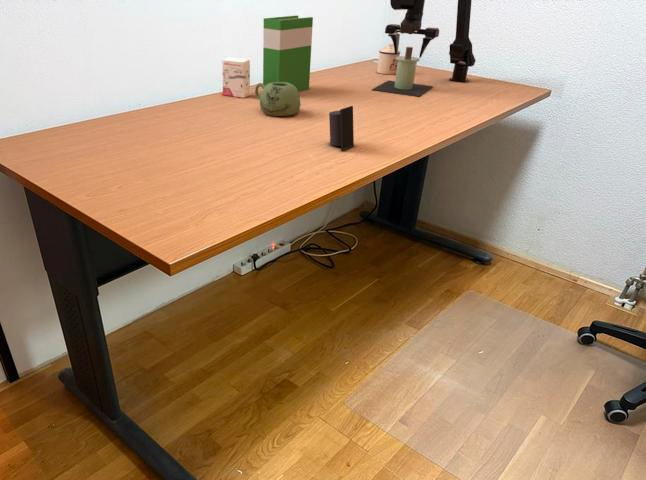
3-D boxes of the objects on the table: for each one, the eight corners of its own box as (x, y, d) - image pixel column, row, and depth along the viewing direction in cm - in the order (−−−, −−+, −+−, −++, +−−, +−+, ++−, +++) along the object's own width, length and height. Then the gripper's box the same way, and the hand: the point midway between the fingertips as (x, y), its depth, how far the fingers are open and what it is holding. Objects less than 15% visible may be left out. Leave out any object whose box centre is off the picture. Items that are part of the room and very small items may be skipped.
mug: (307, 111, 160) (309, 83, 155) (285, 120, 151) (286, 90, 146) (266, 103, 167) (267, 76, 162) (243, 111, 158) (243, 82, 153)
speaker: (360, 147, 130) (360, 106, 125) (342, 151, 128) (341, 109, 123) (342, 141, 136) (342, 102, 131) (325, 145, 134) (324, 105, 129)
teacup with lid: (392, 75, 214) (396, 46, 207) (372, 72, 218) (376, 43, 212) (403, 71, 222) (407, 43, 216) (384, 69, 226) (388, 41, 220)
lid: (400, 57, 193) (401, 44, 191) (422, 59, 190) (424, 46, 187) (393, 60, 186) (394, 47, 184) (415, 62, 183) (417, 49, 181)
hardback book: (293, 85, 192) (296, 15, 179) (309, 88, 188) (312, 17, 175) (263, 92, 180) (263, 18, 167) (278, 96, 176) (280, 20, 164)
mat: (388, 81, 204) (388, 80, 204) (432, 87, 197) (432, 86, 197) (371, 90, 189) (372, 89, 189) (418, 96, 182) (419, 96, 182)
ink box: (222, 95, 175) (220, 59, 169) (228, 92, 179) (227, 56, 173) (244, 98, 172) (243, 61, 166) (250, 95, 176) (250, 59, 170)
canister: (408, 85, 197) (413, 58, 191) (415, 89, 191) (419, 61, 186) (391, 85, 196) (395, 58, 190) (397, 89, 190) (402, 61, 185)
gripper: (383, 8, 177) (377, 56, 185) (435, 12, 169) (427, 62, 178) (392, 7, 185) (386, 52, 193) (443, 10, 178) (434, 57, 186)
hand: (408, 56), depth 187 cm, fingers open, 9 cm apart
